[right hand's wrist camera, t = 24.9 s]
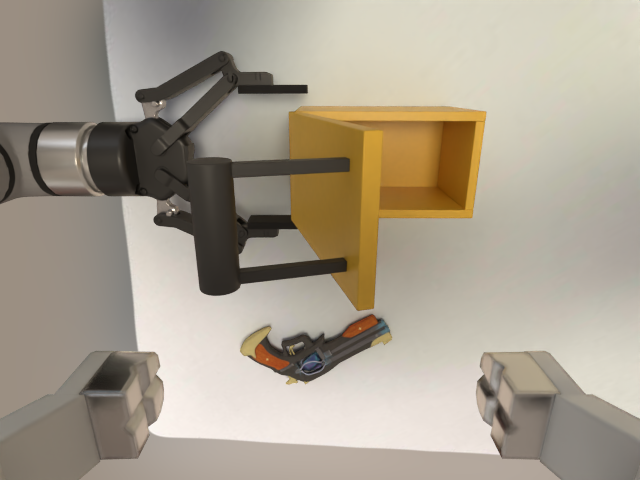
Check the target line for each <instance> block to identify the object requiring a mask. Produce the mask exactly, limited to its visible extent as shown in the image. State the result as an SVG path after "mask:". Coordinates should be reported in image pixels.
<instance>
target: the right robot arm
mask: <svg viewBox="0 0 640 480" xmlns="http://www.w3.org/2000/svg"><path fill="white" fill-rule="evenodd" d="M159 368H160V363H159V358H158V355H157V354H156V353H155V352H134V351H115V352H114V351H95V352H92V353H90V354H89V355H88V356H87V358H86V359H85V360H84V361H83V362H82V363H81V364H80V365H79V367H78V368H77V369H76V370H75V371H74V372H73V373H72V375H71V376H70V377H69V378H68V379H67V380H66V381H65V383H64V384H63V385H62V386H61V387H60V388H59V389H58V391H57V392H56V393H55V394H54V395H46V396H44V397H42V398H40V399H38V400H36V401H34V402H32V403H30V404H28V405H26V406H24V407H22V408H20V409H18V410H16V411H15V412H13V413H11V414H9V415H7V416H5V417H3V418H1V419H0V480H79V479H80V478H82V477H83V476H84V475H85V474H86V473H87V472H89V471H90V470H91V469H92V468H93V467H94V466H96V465H97V464H98V463H99V462H100V460H102V459H136V458H138V457H139V455H140V453H141V451H142V449H143V447H144V445H145V443H146V441H147V439H148V437H149V430H148V426H150V425H151V424H153V423H154V422H155V421H157V419H158V417H159V414H160V412H161V409H162V404H163V400H164V387H163V381H162V380H161V379H160V378H159V377H158V376H157V375H156V373H157V371H158V369H159ZM480 368H481V369H482V371H483V373H484V375H483V376H482V377H481V378H480V379H479V380H478V381H477V388H476V398H477V405H478V409H479V412H480V414H481V417H482V419H483V421H485V422H486V423H487V424H489V425H490V426H492V430H491V437H492V439H493V441H494V443H495V445H496V447H497V449H498V451H499V453H500V455H501V457H502V458H503V459H539V460H540V462H541V463H542V464H543V465H545V466H546V467H547V468H548V469H549V470H550V471H552V472H553V473H554V474H555V475H556V476H557V477H559V478H560V479H561V480H640V419H639V418H637V417H635V416H633V415H631V414H629V413H627V412H625V411H623V410H622V409H620V408H618V407H616V406H614V405H612V404H610V403H608V402H606V401H604V400H602V399H600V398H598V397H596V396H594V395H586V394H585V393H584V392H583V391H582V389H581V388H580V387H579V386H578V385H577V384H576V383H575V381H574V380H573V379H572V378H571V377H570V376H569V375H568V373H567V372H566V371H565V370H564V369H563V368H562V367H561V366H560V364H559V363H558V362H557V361H556V360H555V359H554V358H553V356H552V355H551V354H550V353H548V352H546V351H524V352H484V353H483V355H482V357H481V362H480Z"/></svg>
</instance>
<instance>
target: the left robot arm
mask: <svg viewBox="0 0 640 480" xmlns="http://www.w3.org/2000/svg"><path fill="white" fill-rule="evenodd" d="M221 71H222V73H223V77H222V78H221V79H220V80H219V81H218V82H217V83H216V84H215V85H214V86H213V87H212V88H211V89H210V90H209V91H208V92H207V93H206V94H205V95H204V96H203V97H202V98H201V99H200V100H199V101H198V102H197V103H196V104H195V105H194V106H193V107H192V108H191V109H190V110H189V111H188V112H187V113H186V114H185V115H184V116H183V117H181V118H180V119H179V120H177V121H176V122H175V123H174V124H173V125H171V124H169V123H168V122H166V121H165V120H163V119H162V118H160V117H159V116H158V114H159V111H160V110H162V109H164V108H165V107H166V100H169V99H172V98H174V97H177V96H178V95H180V94H182V93H184V92H185V91H187V90H189V89H191V88H192V87H194V86H196V85H198V84H200V83H201V82H203V81H205V80H207V79H208V78H210V77H212V76H214V75H215V74H217V73H219V72H221ZM237 86H238V94H268V93H308V85H273V75H272V74H270V73H267V72H240V71H238V69H237V68H236V66H235V63H234V59H233V57H232V55H231V54H229V53H226V52H224V51H220V52H218V53H216V54H214V55H212V56H211V57H209V58H207V59H205V60H204V61H202V62H200V63H199V64H197V65H195V66H193V67H192V68H190V69H188V70H186V71H185V72H183V73H181V74H179V75H178V76H176V77H174V78H173V79H171V80H169V81H167V82H166V83H164V84H162V85H160V86H159V87H157V88H149V89H141V90H138V91H137V92H136V94H135V97H136V100H137V101H138V102H140V103H142V106H143V110H144V114H145V118H146V119H145V120H143V121H141V122H101V123H99V124H96V123H94V122H53V123H0V204H1V203H4V202H7V201H10V200H12V199H15V198H19V197H28V196H103V195H107V196H149V197H153V198H155V199H157V215H156V216H155V217H154V223H155V224H156V225H158V226H165V227H175V228H177V229H180V230H182V231H184V232H186V233H189V234H191V235H193V236H194V232H193V222H192V214H190V213H188V212H185V211H181V210H179V208H178V206H176V205H174V204H172V203H171V202H170V200H169V198H170V197H172V196H173V195H175V194H178V195H179V196H180V197H182V198H183V199H184V200H186V201H188V202H190V195H189V186H188V177H187V167H186V162H187V161H188V160H192V159H194V158H193V157H194V151H195V150H194V143H192V142H191V140H190V138H189V137H188V135H189V134H190V133H191V132H192V131H193V130H194V129H195V128H196V127H197V125H198V124H199V123H200V122H201V121H202V120H203V119H204V118H205V117H206V116H207V115H208V114H209V113H211V112H212V111H213V110H214V109H215V108H216V107H217V106H218V105H219V104H220V103H221V102H222V101H223V100H224V99H225V98H226V97H227V96H228V95H229V94H230V93H231V92H232V91H233V90H234V89H235V88H236V87H237ZM236 224H237V238H238V252H239V254H240V253H241V252H242V251H243V249H244V246H245V244H246V241H247V239H248V238H252V237H276V236H278V233H279V229H298V228H297V227H296V226H295V224H294V223H293V221H292V220H291V215H251V216H250V218H249V220H248V222H247V221H246V220H244V219H243V218H242V217H240V216H239V215H238V214H237V213H236Z"/></svg>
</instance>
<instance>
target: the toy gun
mask: <svg viewBox="0 0 640 480" xmlns="http://www.w3.org/2000/svg"><path fill="white" fill-rule="evenodd" d="M270 330H271V327H265V328H263V329H261V330H259V331H257V332H256V333H254V334H252V335H251V336H250V337H248V338H247V339H246V340H245V341H244V343H243V344H242V346H241V348H240V352H241V353H242V354H243V355H244V356H248V357H249V358H251V359H252V360H254V361H255V362H257V363H259V364H261V365H263V366H266V367H268V368H271V369H272V370H273V371H274V372H277V373H279V374H281V375H286V376H288V377H289V380H288V381H287V382H286V384H292V383H298V381H297V380H300V381H303V382H304V383H305V384H307V383H308V382H309V381H312V380H314V379H316V378H318V377H320V376H321V375H323V374H325V373H327V372H328V371H330V370H331V369H333V368H334V367H335V366H336V365H338V364H339V363H340V362H342V361H344V360H346V359H348V358H350V357H352V356H354V355H355V354H357V353H359V352H361V351H363V350H365V349H367V348H370V347H372V346H374V345H376V344H378V343H380V342H383V343H384V345H385V344H386V343H388V342H389V341H390V340H392V339H391V338H392V336H391V334H390V330H389V328H388V326H387V325H386V324H385V322H384V321H383V320H378V321H377V319H376V317H375V316H374V315H371V316H368V317H366V318H364V319H362V320H360V321H358V322H356V323H354V324H352V325H350V326H349V327H348V328H347V330H346V331H345V332H344V333H343V334H342V336H340V337H338V338H336V339H334V340H332V341H329V342H325V343H324V334H323V335H322V336H321V337H320V338H319V339H318V340H316V341H315V342H312V341H311V339H310V338H309V337H308V336H306V335H301V336H299V337H297V338H294V339H291V340H286V341H283V342H282V347H283V350H284V352H283V353H281V352H279V351H277V350H276V349H274V348H273V347H271V346H270V344H269V342H268V340H267V334H268V333H269V332H270ZM299 342H304V344H305V347H304V348H302V349H301V350H299V351H297V352H295V353H294V351H293V349H292V348H293V347H294V346H295V345H294V344H297V343H299ZM289 345H290V348H289V352H290V354H289V353H288V351H287V350H286V346H289ZM290 349H291V350H292V353H293V354H291V351H290ZM315 351H317V353H316V352H315ZM313 352H314V353H313ZM307 356H308V357H307ZM305 357H307V358H306V360H305V361H304V362H303V365H302V360H303V358H305ZM300 360H301V364H299V363H298V361H300ZM322 360H323V361H322ZM324 361H325V364H324V365H323V366H321V365H322V362H324ZM301 365H302V366H301ZM319 367H320V368H319ZM317 368H318V369H317ZM314 369H316V370H314ZM304 370H307V371H311V370H314V371H311V372H304Z"/></svg>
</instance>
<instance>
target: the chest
mask: <svg viewBox="0 0 640 480" xmlns="http://www.w3.org/2000/svg"><path fill="white" fill-rule="evenodd" d="M295 112H304V113H308V114H313V115H317V116H322V117H326V118H331V119H335V120H340V121H344V122H349V123H353V124H358V125H362V126H367V127H371V128H376V129H380V130H383V146H382V165H381V184H380V203H379V218H472V216H473V207H474V200H475V192H476V185H477V177H478V170H479V162H480V155H481V148H482V140H483V133H484V125H485V119H486V112H485V111H478V110H471V109H463V108H456V107H381V106H301V107H299V108H298V109H297V110H296V111H295Z"/></svg>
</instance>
